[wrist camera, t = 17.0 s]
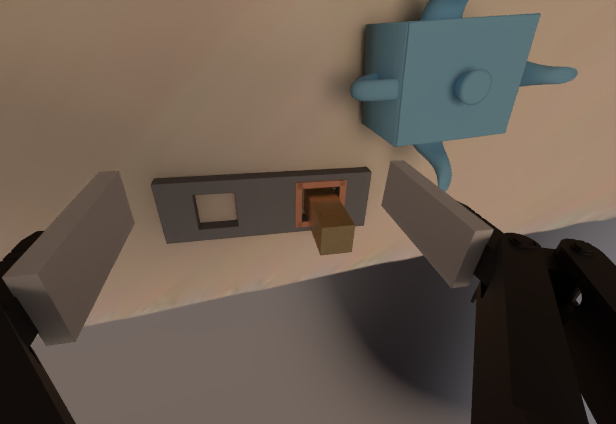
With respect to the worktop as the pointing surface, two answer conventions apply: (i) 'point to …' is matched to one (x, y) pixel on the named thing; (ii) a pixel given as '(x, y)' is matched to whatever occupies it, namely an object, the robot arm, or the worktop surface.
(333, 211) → the wooden peg
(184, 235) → the dark grey flat board
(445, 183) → the teakettle
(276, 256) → the worktop surface
